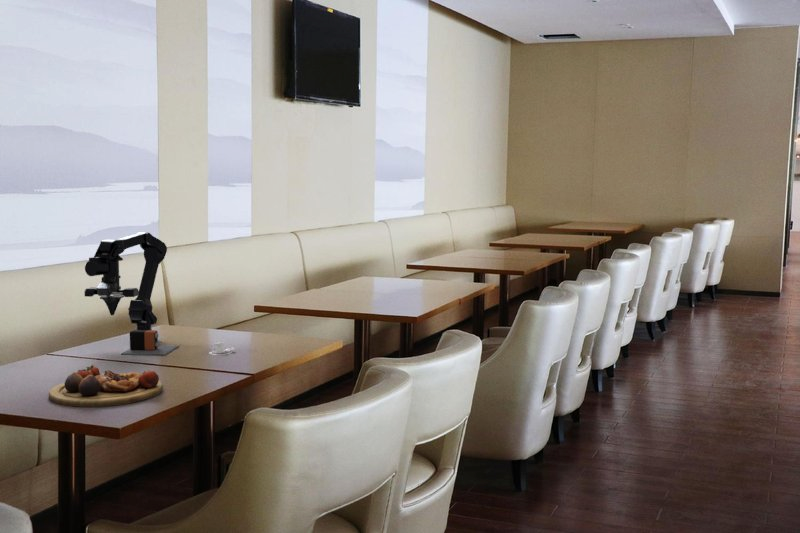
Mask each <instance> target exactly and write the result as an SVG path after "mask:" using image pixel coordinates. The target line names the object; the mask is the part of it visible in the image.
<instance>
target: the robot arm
mask: <svg viewBox="0 0 800 533" xmlns="http://www.w3.org/2000/svg"><path fill="white" fill-rule="evenodd" d="M138 245H139V246H140V248H141V249H142V251H143V258H144V260H145V264H144V269H143V272H142V276H141V280H140V285H139V289H138V288H137V287H127V288H126V287H125V288H124V289H122V286H120V285H121V284H120V279H121V275H120V262H121V261H124V258H123V257H121V256H120V255H121V254H123V253H124V252H125V250H126V249H127V250H128V249H130V248H133V247H135V246H138ZM167 251H168V247H167V245H166V243H165V242H163V241H162V240H161V239H159V238H157V237H156V236H153V234H152V233H150V232H148V231H139V232H136V233H134V234H131V235H127V236H124V237H120V238H116V239H112V238H111V239H109V238H108V239H102V240H101V241H100V244H99V246H98V247H97V249H96V252H95V254H94V255H93V256H90V257H89V258H88V261H87V262H86V263H85V266H84V270H85V273H86V275H87V276H89V277H97V276H98V277H99V276H102V277H101V281H100V282H99V284H98V285H97V286H96V287H94V286H93V287H91V286H90V287H88V288H86V289H84V297H91V298H92V297H94V296H95V295H97V296H99V299H101V300H102V301H104V303H105V305H106V307H107V309H108V312H109V314H110V316H114V315H115V313H116V311H117V308H118V305H119V303H120V301H121V299H122V298H134V297H135V299H131V300H130V303H129V307H128V309H127V310H128V316H129V320H130V323H131V324H135V325H136V327H135V328H136V330H153V327H152V325H153V326H154V325H155V324H157V321H158V317H157V316H156V315H155V314H154V312H153V304H152V300H151V299H152V295H153V294H152V293H153V290H154V285H155V282H156V281H155V280H156V277H157V272H158V268H159V266H160V264H161V263H162V261H164V260H165V256H166V254H167V253H168V252H167ZM136 296H137V297H136Z"/></svg>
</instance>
